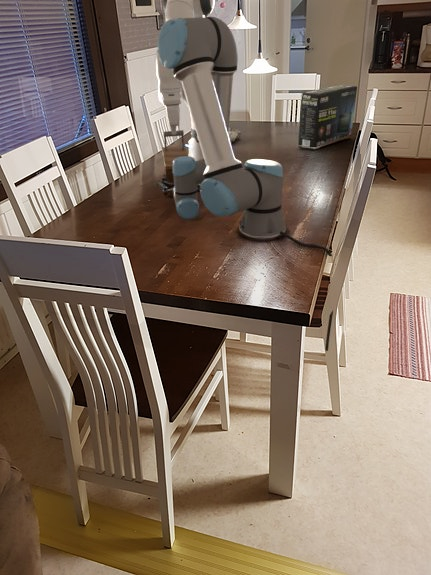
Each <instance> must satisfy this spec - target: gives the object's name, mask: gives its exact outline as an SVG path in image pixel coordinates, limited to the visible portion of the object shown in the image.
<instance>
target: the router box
mask: <svg viewBox="0 0 431 575" xmlns="http://www.w3.org/2000/svg"><path fill="white" fill-rule="evenodd" d="M357 93H358V86H356V85H350V84H339V85H338V84H337V85H334V86H328V87H324V88H318V89H314V90H309V91H304V92H301V93H300V109H299V110H300V111H299V124H298V137H297V146H298V145H302V146H307V147H317V146H320V145H323V144H325V143H328V142H331V141H333V140H336V139H338V138H341V137H344V136H347V135H351V136H352V133H353V132H352V131H353V125H354V115H355V109H356V99H357ZM311 151H313V150H312V149H311Z"/></svg>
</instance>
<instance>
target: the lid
mask: <svg viewBox="0 0 431 575" xmlns="http://www.w3.org/2000/svg"><path fill="white" fill-rule="evenodd" d="M162 133H163V141H164V146H162V147H161V151H162V152H161V153H162V157H163V159H164V164H165V169H169V168H173V161H174V159H176V158H178V157H184V156H188V154H189V151H188V148H187V146H186V145H185V142H184V140H185V139H184V135H185V134H184V133H185V132H184V129H182V130H176V135H172V133H171V130H170V131H169V130H168V131H163V132H162ZM168 137H169V138H171V137H181V145H176V146H175V145H174V146H168V145H167V138H168ZM164 164H163V165H164Z"/></svg>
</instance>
